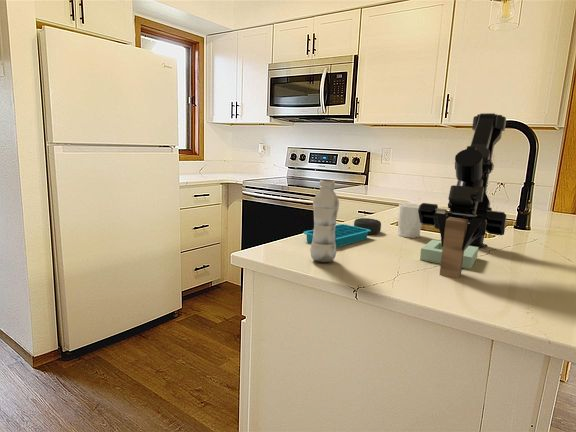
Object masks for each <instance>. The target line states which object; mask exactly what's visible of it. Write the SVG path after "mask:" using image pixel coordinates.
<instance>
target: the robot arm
mask: <svg viewBox="0 0 576 432" xmlns="http://www.w3.org/2000/svg"><path fill="white" fill-rule="evenodd" d="M506 124H507V118H506V116H504V115H503V114H497V113H495V112H494V113H492V112H491V113H490V112H489V113H488V112H487V113H485V112H484V113H479V114H477V115H476V116H473V119H472V125H471V126H472V127H471V130H472V131H474V133H473V136H472V140H471V143H470V145H468V146H466V148H465V149H462V150H460V151H459V152H457V154H455V155H454V170H455V177H456V179H457V183H456V185H455V184H454V185H451V186H450V189H449V194H448V198H447V200H448V203H447V209H449V211H448V210H447V209H446V208H440V207H439V206H438V203H430V202H429V203H428V202H422V203H421V204H419V205H420V206H419V209H418V213H419V218H420V223H422V225H426V226H434V228H435V229H436V230H439V235H440V241H441V244H442V247H443V241H444V233H445V224H446V219H447V218H449V217H454V218H462V219H468V225H467V232H466V237H465V239H464V242H463V246H462V251H464V250H465V249H466V248H467V247H468V246H474V247H479V248H484V247H485V248H486V247H488V244H486V243H484V238H485V236H486V233H487V234H488V235H489V234H490V235H494V236H495V235H496V236H503V235H505V232H506V225H507V214H506V213H505V211H496V210H493V209H492V208H493V207H491V201H490V199H489V197H488V194H487V190H488V183H489V178H490V174H491V173H492V171H493V170H494V166H495V165H494V163H493V159H492V158H493V153H494V147H495V145H496V144H498V142H499V141H500V140H501V138H502V135H503V132H505V130H506V127H507V125H506Z"/></svg>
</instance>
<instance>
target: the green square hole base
mask: <svg viewBox="0 0 576 432" xmlns="http://www.w3.org/2000/svg"><path fill="white" fill-rule="evenodd" d="M479 248H480V247H474V246H468V247H467V248H466V249H465V250H464V255H463V263H462V269H466V270H471V269H472V267H473V265H474V264H475V262H476V260H477V259H478V256H479V255H478V254H479ZM442 249H443V247H442V244H441V240H437V239H431V240H430V241H429V242H427V243H426V244H425V245H424V246H422V247H421V248H420V256H419V260H420V261H426V262H431V263H434V264H440V265H441V258H442Z"/></svg>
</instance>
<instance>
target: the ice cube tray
mask: <svg viewBox="0 0 576 432" xmlns="http://www.w3.org/2000/svg"><path fill="white" fill-rule="evenodd" d="M335 226H336V227H335V243H336V248H338V247H341V246H345V245H349V244H354V243H356V242H360V240H361V241H364V240H367V238H368V237H367V236H368V234H367V233H368V232H370V231H371V230H369V229H365V228H360V227H355V226H354V225H349V224H346V223H338V224H336V225H335ZM313 232H314V229H311V230H310V229H309V230H305V231H303V234H304V235H306V242H307V243H310V244H312V240H313Z"/></svg>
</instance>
